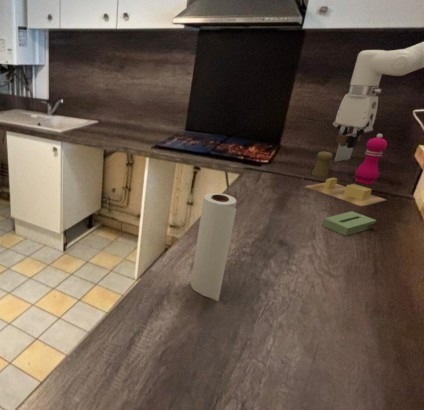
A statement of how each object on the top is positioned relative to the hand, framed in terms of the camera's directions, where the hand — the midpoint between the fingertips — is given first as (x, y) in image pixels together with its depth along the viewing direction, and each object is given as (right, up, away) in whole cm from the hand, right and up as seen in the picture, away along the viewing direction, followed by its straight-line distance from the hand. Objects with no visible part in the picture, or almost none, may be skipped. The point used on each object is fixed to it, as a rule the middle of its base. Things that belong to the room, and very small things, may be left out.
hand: (346, 146), depth 124 cm
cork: (+5, -10, +23) cm, 25 cm away
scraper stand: (-13, -27, -18) cm, 34 cm away
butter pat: (0, -14, +8) cm, 16 cm away
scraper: (0, -5, +2) cm, 5 cm away
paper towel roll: (-65, -39, -46) cm, 88 cm away
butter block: (+4, -17, 0) cm, 18 cm away
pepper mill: (+18, -13, +16) cm, 27 cm away
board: (+2, -17, +4) cm, 18 cm away
